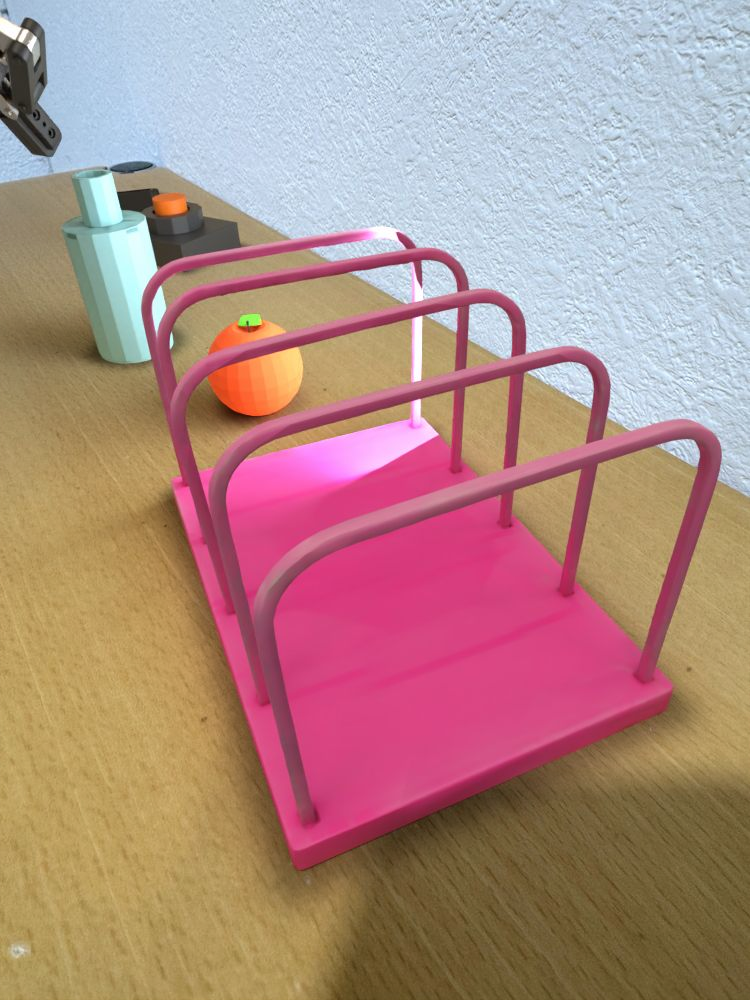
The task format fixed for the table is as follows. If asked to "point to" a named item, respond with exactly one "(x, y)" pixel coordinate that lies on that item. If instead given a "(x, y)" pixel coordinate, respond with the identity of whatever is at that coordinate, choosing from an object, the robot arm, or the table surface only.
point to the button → (169, 204)
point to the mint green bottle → (112, 267)
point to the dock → (188, 234)
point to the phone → (137, 199)
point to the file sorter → (405, 574)
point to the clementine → (256, 370)
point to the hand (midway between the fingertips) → (49, 146)
